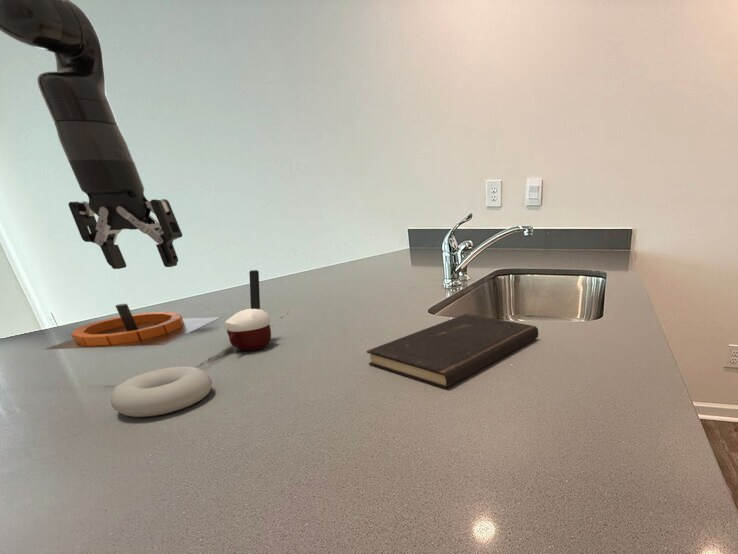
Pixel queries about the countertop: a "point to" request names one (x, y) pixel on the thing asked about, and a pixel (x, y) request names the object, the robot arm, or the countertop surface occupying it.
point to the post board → (130, 325)
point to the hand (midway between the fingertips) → (145, 267)
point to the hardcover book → (452, 348)
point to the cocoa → (250, 322)
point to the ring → (91, 338)
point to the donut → (161, 391)
